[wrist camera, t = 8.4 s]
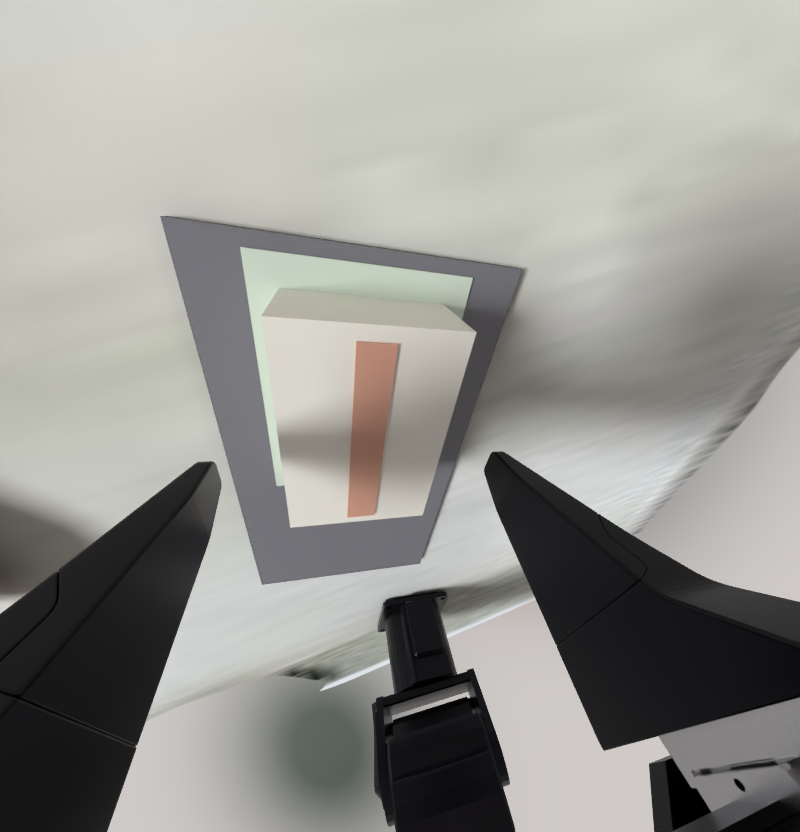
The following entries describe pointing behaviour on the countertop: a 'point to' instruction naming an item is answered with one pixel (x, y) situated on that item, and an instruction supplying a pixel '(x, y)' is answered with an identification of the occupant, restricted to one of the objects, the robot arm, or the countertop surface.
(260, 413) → the mat
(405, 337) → the card box
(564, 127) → the countertop surface
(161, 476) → the countertop surface
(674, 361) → the countertop surface
